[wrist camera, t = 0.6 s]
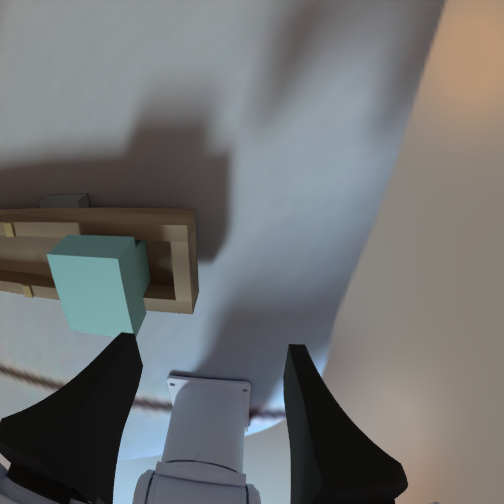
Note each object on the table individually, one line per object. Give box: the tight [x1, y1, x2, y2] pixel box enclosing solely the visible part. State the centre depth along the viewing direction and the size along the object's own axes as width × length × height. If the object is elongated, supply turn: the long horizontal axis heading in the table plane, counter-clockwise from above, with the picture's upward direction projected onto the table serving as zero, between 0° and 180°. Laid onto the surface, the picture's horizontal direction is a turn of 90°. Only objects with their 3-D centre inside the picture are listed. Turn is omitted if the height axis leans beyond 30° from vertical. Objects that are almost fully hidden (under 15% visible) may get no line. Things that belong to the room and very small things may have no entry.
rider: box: [47, 235, 151, 337], centre depth 18 cm, size 5×4×5 cm
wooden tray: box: [0, 194, 199, 314], centre depth 20 cm, size 7×20×4 cm, turn 88°
